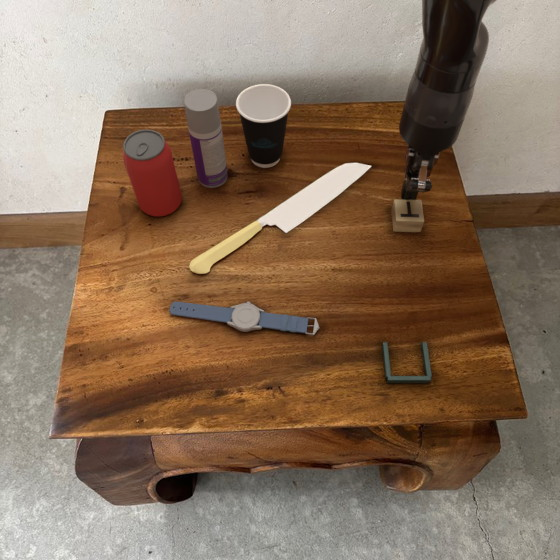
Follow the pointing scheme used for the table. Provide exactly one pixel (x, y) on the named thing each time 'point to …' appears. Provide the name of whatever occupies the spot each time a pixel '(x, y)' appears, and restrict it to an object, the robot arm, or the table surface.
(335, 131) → the table surface
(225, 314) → the wristwatch
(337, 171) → the knife
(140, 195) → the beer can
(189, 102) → the container
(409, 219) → the letter tile
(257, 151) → the dixie cup
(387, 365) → the frame
